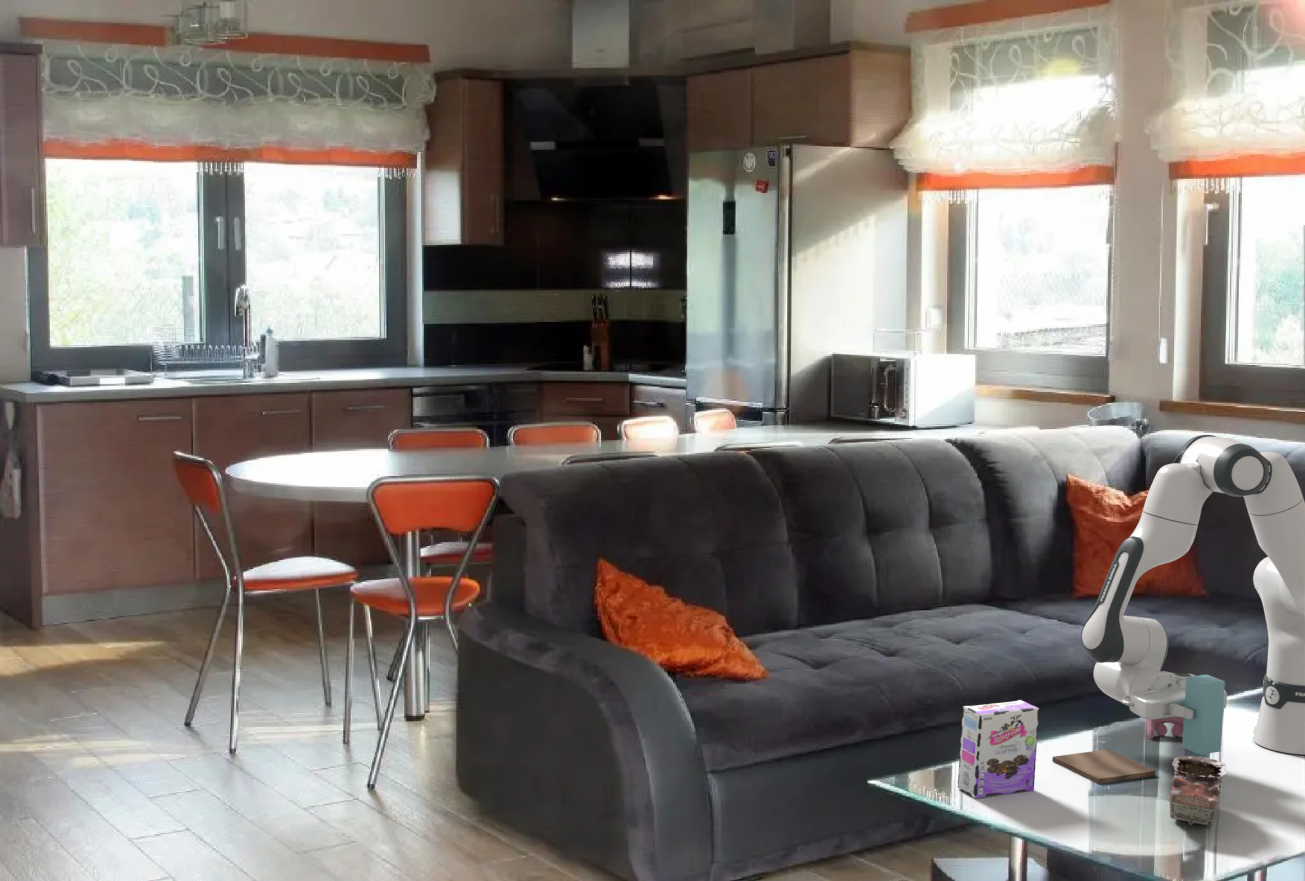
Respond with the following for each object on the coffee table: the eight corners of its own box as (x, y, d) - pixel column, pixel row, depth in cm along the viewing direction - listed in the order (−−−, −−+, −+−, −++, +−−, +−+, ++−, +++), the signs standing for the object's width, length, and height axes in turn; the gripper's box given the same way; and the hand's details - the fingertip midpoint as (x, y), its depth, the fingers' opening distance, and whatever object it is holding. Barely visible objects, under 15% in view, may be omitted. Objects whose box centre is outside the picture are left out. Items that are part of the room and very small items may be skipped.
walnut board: (1107, 753, 341) (1108, 749, 341) (1155, 775, 329) (1155, 770, 329) (1052, 761, 335) (1052, 756, 335) (1098, 783, 323) (1098, 778, 323)
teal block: (1202, 743, 328) (1206, 674, 326) (1220, 751, 323) (1224, 681, 321) (1182, 746, 326) (1186, 677, 324) (1200, 754, 321) (1204, 684, 319)
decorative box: (1247, 812, 310) (1252, 761, 309) (1230, 846, 293) (1235, 793, 291) (1174, 798, 316) (1178, 749, 315) (1153, 831, 299) (1157, 779, 297)
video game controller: (1191, 744, 354) (1190, 711, 357) (1196, 741, 350) (1195, 707, 352) (1144, 741, 355) (1143, 708, 358) (1148, 738, 351) (1147, 705, 353)
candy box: (974, 799, 312) (979, 714, 310) (956, 789, 318) (961, 705, 315) (1035, 791, 318) (1040, 707, 316) (1016, 781, 323) (1021, 698, 321)
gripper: (1116, 683, 330) (1165, 703, 318) (1197, 672, 339) (1247, 691, 326) (1115, 714, 331) (1163, 735, 319) (1195, 702, 340) (1245, 722, 327)
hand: (1206, 712), depth 323 cm, fingers closed on teal block, 5 cm apart
